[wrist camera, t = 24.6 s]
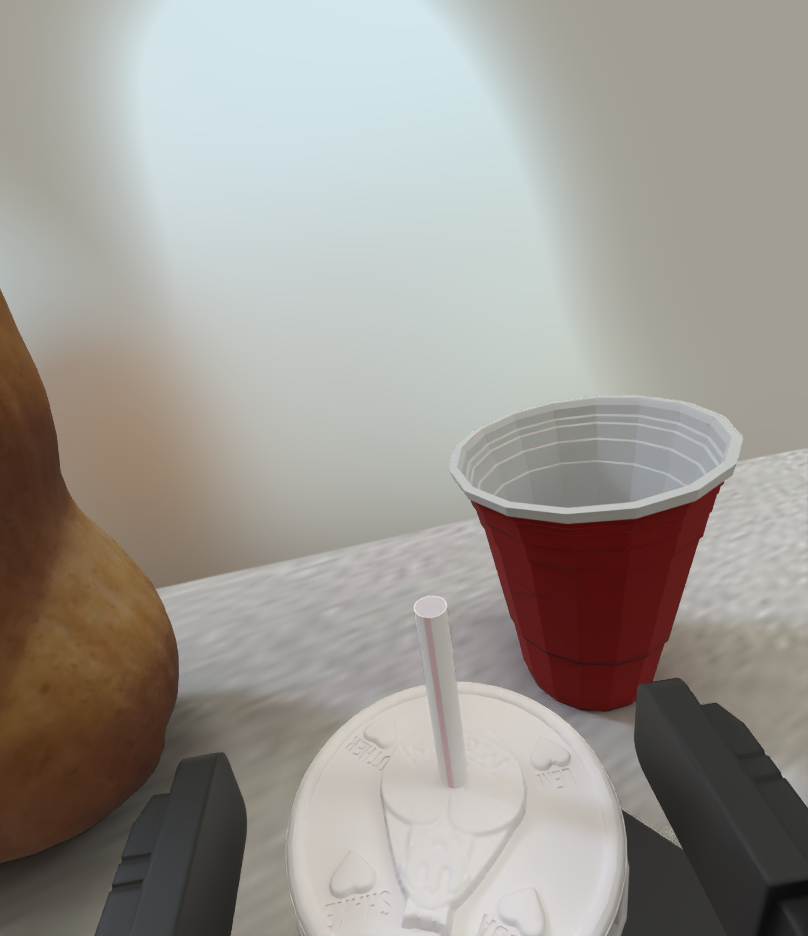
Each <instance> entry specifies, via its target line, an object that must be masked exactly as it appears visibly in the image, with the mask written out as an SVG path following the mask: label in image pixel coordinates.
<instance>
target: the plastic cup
mask: <svg viewBox="0 0 808 936" xmlns="http://www.w3.org/2000/svg"><path fill="white" fill-rule="evenodd" d="M742 440H743V436H742V435H741V434H740V433H739V432H738V431H737V430H736V429H735V427H734V426H733V425H732V424H731V423H730V422H729V421H728V419H727V418H726V417H725V416H723V415H720V414H718V413H715V412H713V411H710V410H708V409H705V408H702V407H700V406H697V405H695V404H692V403H690V402H685V401H677V400H671V399H664V398H657V397H650V396H591V397H583V398H577V399H569V400H561V401H554V402H548V403H544V404H541V405H537V406H534V407H530V408H526V409H523V410H519V411H515V412H512V413H508V414H507V415H504V416H502V417H500V418H498V419H496V420H493V421H491V422H489V423H487V424H485V425H483V426H481V427H479V428H477V429H475V430H474V431H473V432H472V433H470V434H469V435H468V436H467V437H466V438H465V439H464V440H463V441H461V442H460V443H459V444H458V445H457V446H456V447H455V448H454V450H453V454H452V458H451V462H450V466H449V472H450V473H451V475H452V477H453V479H454V480H455V481H456V482H457V484H458V485H459V487H460V488H461V489H462V491H463V492H464V493H465V495H466V496H467V497H468V499H469V500H471V503H472V505H473V506H474V508H475V509H476V511H477V514H478V517H479V520H480V522H481V525H482V526H483V528H484V529H485V532H486V535H487V539H488V542H489V545H490V549H491V552H492V555H493V559H494V562H495V566H496V569H497V572H498V576H499V579H500V583H501V586H502V589H503V593H504V596H505V599H506V603H507V606H508V610H509V613H510V616H511V618H512V620H513V622H514V623H515V627H516V631H517V635H518V638H519V642H520V646H521V650H522V654H523V658H524V660H525V662H526V664H527V666H528V668H529V670H530V672H531V674H532V676H533V677H534V679H535V681H536V683H537V684H538V686H539V687H540V688H541V689H543V690H544V691H545V692H547V693H548V694H549V695H550V696H552V697H553V698H554V699H556V700H557V701H560V702H562V703H565V704H568V705H571V706H573V707H576V708H579V709H583V710H603V711H609V710H612V709H616V708H619V707H623V706H626V705H630V704H632V703H633V702H634V701H635V700H636V699H637V688H638V686H639V685H640V684H643V683H649V682H652V681H653V678H654V675H655V672H656V669H657V665H658V662H659V659H660V656H661V653H662V650H663V646H664V643H666V642H667V641H668V639H669V636H670V633H671V629H672V626H673V623H674V620H675V616H676V613H677V610H678V607H679V603H680V600H681V597H682V594H683V590H684V587H685V584H686V581H687V578H688V574H689V571H690V568H691V565H692V561H693V558H694V555H695V552H696V548H697V545H698V542H699V539H700V538H701V537H703V534H704V531H705V527H706V524H707V521H708V518H709V514H710V512H712V509H713V506H714V503H715V499H716V496H717V494H718V493H719V490H720V487H721V485H723V484H724V481H725V480H726V479H728V478H729V477H731V476H732V474H733V472H734V469H735V466H736V463H737V460H738V456H739V452H740V448H741V444H742Z"/></svg>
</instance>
